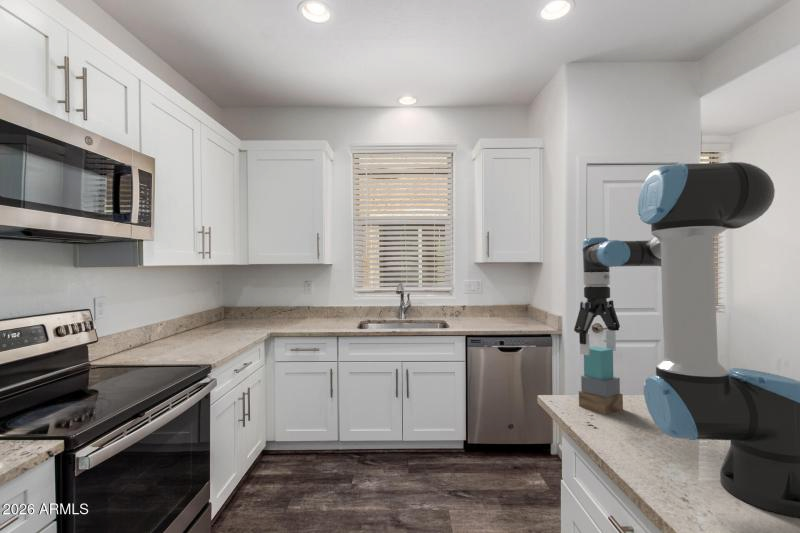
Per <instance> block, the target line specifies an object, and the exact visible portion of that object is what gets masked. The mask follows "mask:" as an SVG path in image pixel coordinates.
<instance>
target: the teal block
mask: <svg viewBox="0 0 800 533" xmlns="http://www.w3.org/2000/svg"><path fill="white" fill-rule="evenodd" d="M583 376H586V377H590V378H594V379H598V380H605V379H610V378H613V376H614V351H613V349H608V348H606V347H602V346H597V345H596V346H590V355H583Z"/></svg>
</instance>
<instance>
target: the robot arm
mask: <svg viewBox="0 0 800 533" xmlns="http://www.w3.org/2000/svg"><path fill="white" fill-rule="evenodd" d="M775 189H776V188H775V186H774V182H773V180H772V178H771V176H770V175H769V174H768V173H767V172H766V171H765V170H763V169H762V168H761V167H759V166H758V165H754V164H751V163H748V162H741V161H738V162H737V161H735V162H734V161H732V162H731V161H730V162H712V163H711V162H707V163H705V162H704V163H684V162H683V163H678V164H672V165H662V166H659V167H657V168H655V169H654V170H652V172H650V174H648V176H647V177H646V179H645V181H644V182H643V184H642V186H641V189H640V192H639V196H638V201H637V211H638V213H637V214H638V215H639V216H638V217H639V219H640V220H641V222H642V223H644V224H647V225H650V227H651V232H650V233H651V235H652V236H654V237H653V238H651V239H648V240H618V239H613V240H611V239H610V240H609V238H607V237H602V236H601V237H598V236H597V237H589V238H588V237H587V238H585V239H584V240H583V241H582V249H581V250H582V255H583V256H582V258H583V259H582V260H583V261H582V263H583V266H582V267H583V285H585V286H584V288H583V297H584V298H585V299H587V301H580V303H579V304H580V305H579V306H580V307H579V311H578V314H577V318H576V322H575V325H574V328H573V331H574V332H575V333H576V334H579V347H580V348H579V349H580V350H579V354H580V355H583V356H584V355H590V347H591V346H590V333H588V332H589V330H590V328H591V326H592V323H593V322H594V320H595V318H597V316H600V318H601V319H602V321H603V323H604V325H605V327H606V329H605V338H606V339H605V340H606V342H605V343H606V346H605V348H608V349H613V352H615V351H616V350H617V349H616V348H617V347H616V331H619V330H620V327H621V324H620V322H619V317H618V316H617V313H616V310H615V307H614V306H615V305H614V301H613V300H612V299H611V300H610V298H611V287H610V285H611V280H610V278H611V276H610V270H611V269H610V267H611V268H613V267H615V268H616V267H617V268H618V267H660V268H661V270H660V271H661V272H660V273H661V292H662V293H661V296H662V300H661V301H662V324H663V325H662V326H663V327H662V328H663V355H664V356H663V359H661V360H660V361H658V362H657V363H656V364H655V374H653V375H650V376H648V377H647V378H645V382H644V383H643V396H644V401H645V404H646V408H647V410H648V413H649V415H650V417H651V419H652V421H653V422H654V423H655V425H656V427H657V428H658V429H659V430H660V431H661V432H662V433H664V434H665V435H666V436H668V437H672V438H674V439H675V438H677V439H685V440H686V439H687V440H689V441H696V440H705V441H707V440H708V441H709V440H710V441H730V446H729V449H728V451H727V453H726V455H725V459H724V460H723V462H722V465H721V467H720V469H719V476H720V477H719V478H720V484H721V486H722V487H723V488H724V489H725V491H727V492H728V493H729V494H731V495H733V496H734V497H736V498H738V499H740V500H741V501H743V502H746V503H748V504H749V505H752V506H755V507H757V508H760V509H764V510H765V511H770V512H772V513H776V514H780V515H784V516H788V517H789V516H791V517H795V518H800V380H796V379H794V378H790V377H787V376H782V375H778V374H775V373H770V372H766V371H760V370H754V369H747V368H738V367H737V368H736V367H734V368H730V369H726V368H725V367H724V366H722V364H720V363H719V357H718V356H719V355H718V354H719V353H718V352H719V351H718V330H717V329H718V328H717V327H718V326H717V325H718V324H717V323H718V322H717V304H716V303H717V300H716V299H717V298H716V279H715V278H716V277H715V273H716V272H715V251H714V247H715V246H714V238H715V237H716V236H717V235H719V234H721V233H723V232H724V231H726V230H735V229H740V228H742V227H744V226H747V225H748V224H749V225H750V223H752V222H755V221H756V220H758V219H759V218H760V217H762V216H763V215H764V214H765V213H766V212H767V211H768V210H769V209H770V207H772V206H771V205H772V204H773V201H774V198H775V192H776V190H775ZM608 299H609V300H608Z"/></svg>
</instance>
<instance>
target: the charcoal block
mask: <svg viewBox="0 0 800 533" xmlns="http://www.w3.org/2000/svg"><path fill="white" fill-rule="evenodd" d="M580 378H581V379H580V380H581V381H580V383H581V388H580V391H582V392H584V393H588V394H592V395H596V396H599V397H603V398H608V397H611V396H614V395H617V394H621V388H620V386H621V382H620V381H621V380H620V379H621V378H620V377H619V376H618V377H617V376H614V375H613V378H610V379H605V380H598V379H594V378H590V377H586V376H584V375H581V376H580Z"/></svg>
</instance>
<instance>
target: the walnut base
mask: <svg viewBox="0 0 800 533" xmlns="http://www.w3.org/2000/svg"><path fill="white" fill-rule="evenodd" d="M623 398H624V395H623V393H620V394H617V395H614V396H611V397H608V398H603V397H599V396H596V395H592V394H588V393H584V392H582V390H578V407H580V408H584V409H586V410H590V411H591V412H592V411H593V412H597V413H598V414H602V415H608V414H612V413H616V412H619V411H622V410H623V411H624V399H623Z"/></svg>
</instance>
